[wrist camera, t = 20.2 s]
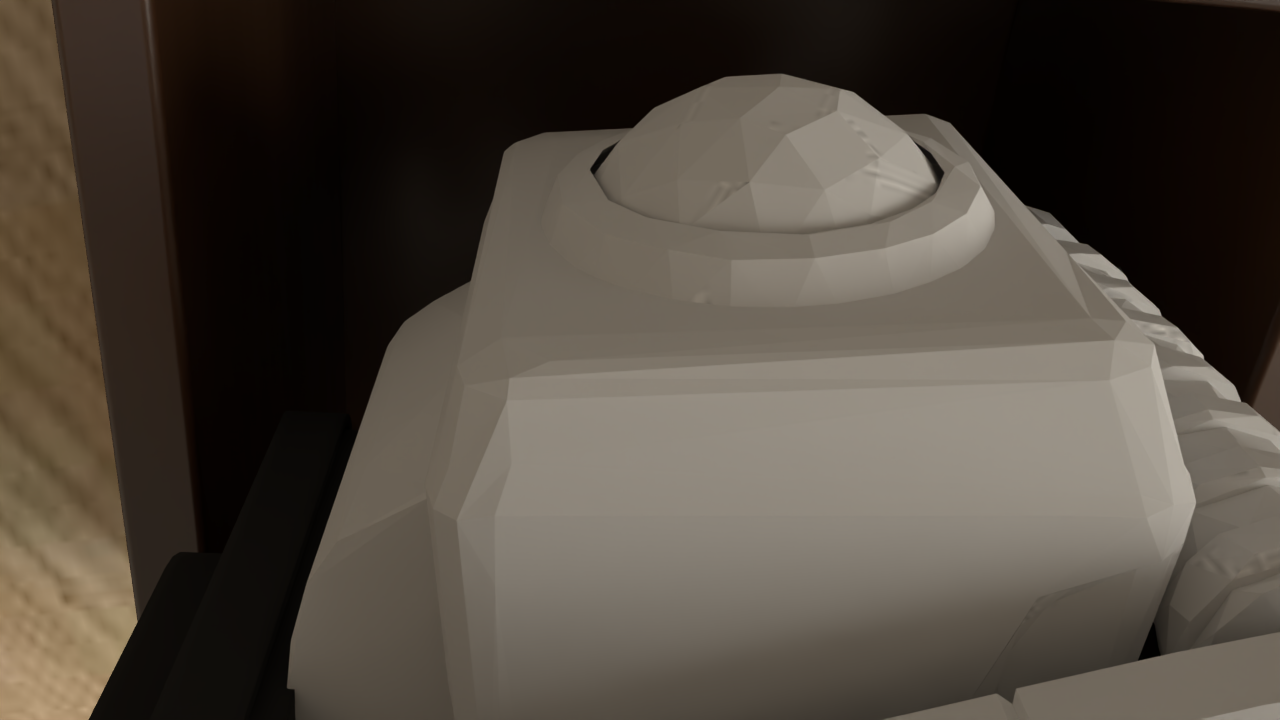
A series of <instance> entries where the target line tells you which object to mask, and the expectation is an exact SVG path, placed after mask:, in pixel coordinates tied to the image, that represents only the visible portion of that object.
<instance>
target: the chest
mask: <svg viewBox="0 0 1280 720" xmlns="http://www.w3.org/2000/svg"><path fill="white" fill-rule="evenodd" d="M52 8H53V15H54V22H55V29H56V36H57V44H58V51H59V58H60V65H61V72H62V80H63V87H64V94H65V101H66V108H67V116H68V123H69V130H70V137H71V145H72V152H73V159H74V166H75V173H76V181H77V188H78V195H79V202H80V209H81V217H82V224H83V231H84V238H85V246H86V253H87V260H88V267H89V274H90V282H91V289H92V296H93V303H94V310H95V318H96V325H97V332H98V339H99V346H100V354H101V361H102V368H103V375H104V383H105V390H106V397H107V404H108V411H109V419H110V426H111V433H112V440H113V447H114V455H115V462H116V469H117V476H118V483H119V491H120V498H121V505H122V512H123V520H124V527H125V534H126V541H127V548H128V556H129V563H130V570H131V577H132V584H133V592H134V599H135V606H136V613H137V620H138V621H139V619H140V617H141V615H142V613H143V611H144V609H145V607H146V605H147V603H148V601H149V599H150V597H151V595H152V593H153V591H154V589H155V587H156V585H157V583H158V581H159V579H160V577H161V575H162V573H163V571H164V569H165V567H166V566H167V564H168V563H169V561H170V560H171V558H172V557H173V556H174V555H176V554H177V553H179V552H197V553H223V550H224V548H225V546H226V544H227V541H228V539H229V537H230V534H231V532H232V530H233V528H234V525H235V523H236V521H237V518H238V516H239V514H240V512H241V509H242V507H243V505H244V502H245V500H246V498H247V495H248V493H249V491H250V489H251V486H252V484H253V482H254V479H255V477H256V475H257V473H258V470H259V468H260V466H261V463H262V461H263V459H264V457H265V454H266V452H267V450H268V447H269V445H270V443H271V441H272V438H273V436H274V434H275V431H276V429H277V427H278V425H279V422H280V420H281V418H282V416H283V414H284V413H285V411H303V412H324V413H345V414H349V415H350V417H351V422H352V430H359V428H360V425H361V422H362V419H363V417H364V414H365V411H366V408H367V405H368V402H369V399H370V396H371V393H372V390H373V387H374V384H375V381H376V378H377V375H378V372H379V370H380V367H381V364H382V361H383V358H384V355H385V352H386V349H387V346H388V345H389V343H390V342H391V340H392V339H393V337H394V336H395V334H396V333H397V331H398V330H399V329H400V327H401V326H402V324H403V323H404V321H406V320H407V319H409V318H410V317H412V316H413V315H415V314H416V313H417V312H419V311H420V310H422V309H423V308H425V307H426V306H427V305H429V304H430V303H432V302H433V301H435V300H437V299H439V298H440V297H442V296H444V295H446V294H448V293H450V292H451V291H453V290H455V289H457V288H459V287H461V286H463V285H464V284H466V283H468V282H470V281H471V278H472V273H473V269H474V265H475V260H476V256H477V251H478V247H479V243H480V238H481V234H482V229H483V225H484V221H485V219H486V216H487V213H488V211H489V208H490V206H491V203H492V201H493V197H494V193H495V188H496V184H497V180H498V175H499V171H500V167H501V162H502V158H503V154H504V151H505V150H507V149H508V148H509V147H510V146H511V145H513V144H514V143H516V142H519V141H521V140H524V139H527V138H530V137H533V136H536V135H539V134H542V133H547V132H567V131H587V130H607V129H628V128H634V127H635V126H636V125H637V124H638V123H639V122H640V121H641V120H642V119H643V118H644V117H645V116H646V115H647V114H648V113H649V112H650V111H651V110H652V109H653V108H655V107H657V106H659V105H662V104H664V103H666V102H668V101H670V100H673V99H675V98H677V97H679V96H682V95H684V94H686V93H688V92H691V91H693V90H695V89H697V88H700V87H702V86H705V85H707V84H709V83H712V82H714V81H717V80H719V79H722V78H724V77H732V76H749V75H766V74H785V75H789V76H793V77H797V78H801V79H805V80H809V81H813V82H816V83H820V84H824V85H828V86H832V87H836V88H840V89H844V90H847V91H851V92H854V93H855V94H857V95H858V96H859V97H861V98H862V99H863V100H864V101H866V102H867V103H868V104H870V105H871V106H872V107H874V108H875V109H876V110H878V111H879V112H880V113H882V114H883V115H884V116H891V115H911V114H927V115H930V116H933V117H935V118H938V119H941V120H943V121H946V122H949V123H951V125H952V126H953V127H954V128H955V129H956V130H957V131H958V132H959V133H960V135H961V136H962V137H963V138H964V139H965V140H966V141H967V142H968V143H969V144H970V146H971V147H972V148H973V149H974V150H975V151H976V152H977V153H978V154H979V156H980V157H981V158H982V159H983V160H984V161H985V162H986V163H987V164H988V166H989V167H990V168H991V169H992V170H993V171H994V172H995V173H996V174H997V175H998V177H999V178H1000V179H1001V180H1002V181H1003V182H1004V183H1005V184H1006V185H1007V187H1008V188H1009V189H1010V190H1011V191H1012V192H1013V193H1014V194H1015V195H1016V196H1017V198H1018V199H1019V200H1020V201H1021V202H1022V203H1023V204H1024V205H1025V206H1029V207H1032V208H1035V209H1039V210H1042V211H1045V212H1049V213H1050V214H1051V215H1052V216H1053V217H1054V218H1055V219H1056V220H1057V221H1058V222H1059V223H1060V224H1061V225H1062V226H1063V227H1064V228H1065V229H1066V230H1067V231H1068V232H1069V233H1070V234H1071V235H1072V236H1073V237H1074V238H1075V239H1076V240H1077V241H1078V242H1079V243H1082V244H1088V245H1089V246H1090V247H1092V248H1093V249H1094V250H1096V251H1097V252H1098V253H1100V254H1101V255H1102V256H1103V257H1105V258H1106V259H1107V260H1108V261H1109V262H1110V263H1112V264H1113V265H1114V266H1115V267H1118V266H1120V267H1121V269H1122V271H1123V273H1124V274H1125V275H1126V277H1127V279H1128V281H1129V283H1130V284H1131V285H1132V286H1134V287H1135V288H1136V289H1137V290H1138V291H1139V292H1140V293H1142V294H1143V295H1144V296H1145V297H1146V298H1147V299H1149V300H1150V301H1151V302H1152V303H1153V304H1154V305H1155V306H1156V307H1157V308H1158V309H1159V310H1160V313H1161V316H1162V317H1163V318H1165V319H1166V320H1168V321H1169V322H1170V323H1172V324H1173V325H1175V326H1176V327H1178V328H1179V330H1180V331H1181V332H1182V333H1183V334H1184V335H1185V336H1186V337H1187V338H1188V339H1189V340H1190V342H1191V343H1192V344H1193V345H1194V346H1195V347H1196V348H1197V349H1198V350H1199V351H1200V352H1201V353H1202V355H1203V356H1204V360H1205V361H1206V362H1207V363H1208V364H1210V365H1211V366H1212V367H1213V368H1214V369H1216V370H1217V371H1218V372H1219V373H1220V374H1221V375H1223V376H1224V377H1225V378H1226V379H1227V380H1229V381H1230V382H1231V383H1232V384H1233V385H1234V386H1235V388H1236V390H1237V393H1238V395H1239V398H1240V400H1241V401H1242V402H1243V403H1247V404H1248V405H1249V406H1250V407H1251V408H1253V409H1254V410H1255V411H1256V412H1257V413H1258V414H1260V415H1261V416H1262V417H1263V418H1264V419H1265V420H1267V421H1268V422H1269V423H1270V424H1271V425H1272V426H1274V427H1275V428H1276V429H1277V430H1278V431H1279V432H1280V0H52Z"/></svg>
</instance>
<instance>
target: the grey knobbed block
mask: <svg viewBox="0 0 1280 720" xmlns="http://www.w3.org/2000/svg"><path fill="white" fill-rule="evenodd" d="M1138 659H1140V661H1138ZM287 688H288V689H295V719H296V720H1280V432H1279V431H1278V430H1277V429H1276V428H1275V427H1274V426H1272V425H1271V424H1270V423H1269V422H1268V421H1267V420H1265V419H1264V418H1263V417H1262V416H1261V415H1260V414H1258V413H1257V412H1256V411H1255V410H1254V409H1253V408H1251V407H1250V406H1249V405H1248V404H1247V403H1243V402H1242V401H1241V400H1240V398H1239V395H1238V393H1237V390H1236V388H1235V386H1234V385H1233V384H1232V383H1231V382H1230V381H1229V380H1227V379H1226V378H1225V377H1224V376H1223V375H1221V374H1220V373H1219V372H1218V371H1217V370H1216V369H1214V368H1213V367H1212V366H1211V365H1210V364H1208V363H1207V362H1206V361H1205V360H1204V356H1203V355H1202V353H1201V352H1200V351H1199V350H1198V349H1197V348H1196V347H1195V346H1194V345H1193V344H1192V343H1191V342H1190V340H1189V339H1188V338H1187V337H1186V336H1185V335H1184V334H1183V333H1182V332H1181V331H1180V330H1179V328H1178V327H1176V326H1175V325H1173V324H1172V323H1170V322H1169V321H1168V320H1166V319H1165V318H1163V317H1162V316H1161V313H1160V310H1159V309H1158V308H1157V307H1156V306H1155V305H1154V304H1153V303H1152V302H1151V301H1150V300H1149V299H1147V298H1146V297H1145V296H1144V295H1143V294H1142V293H1140V292H1139V291H1138V290H1137V289H1136V288H1135V287H1134V286H1132V285H1131V284H1130V283H1129V281H1128V279H1127V277H1126V275H1125V274H1124V273H1123V271H1122V269H1121V267H1120V266H1118V267H1115V266H1114V265H1113V264H1112V263H1110V262H1109V261H1108V260H1107V259H1106V258H1105V257H1103V256H1102V255H1101V254H1100V253H1098V252H1097V251H1096V250H1094V249H1093V248H1092V247H1090V246H1089V245H1088V244H1082V243H1079V242H1078V241H1077V240H1076V239H1075V238H1074V237H1073V236H1072V235H1071V234H1070V233H1069V232H1068V231H1067V230H1066V229H1065V228H1064V227H1063V226H1062V225H1061V224H1060V223H1059V222H1058V221H1057V220H1056V219H1055V218H1054V217H1053V216H1052V215H1051V214H1050V213H1049V212H1045V211H1042V210H1039V209H1035V208H1032V207H1029V206H1025V205H1024V204H1023V203H1022V202H1021V201H1020V200H1019V199H1018V198H1017V196H1016V195H1015V194H1014V193H1013V192H1012V191H1011V190H1010V189H1009V188H1008V187H1007V185H1006V184H1005V183H1004V182H1003V181H1002V180H1001V179H1000V178H999V177H998V175H997V174H996V173H995V172H994V171H993V170H992V169H991V168H990V167H989V166H988V164H987V163H986V162H985V161H984V160H983V159H982V158H981V157H980V156H979V154H978V153H977V152H976V151H975V150H974V149H973V148H972V147H971V146H970V144H969V143H968V142H967V141H966V140H965V139H964V138H963V137H962V136H961V135H960V133H959V132H958V131H957V130H956V129H955V128H954V127H953V126H952V125H951V123H949V122H946V121H943V120H941V119H938V118H935V117H933V116H930V115H927V114H911V115H891V116H884V115H883V114H882V113H880V112H879V111H878V110H876V109H875V108H874V107H872V106H871V105H870V104H868V103H867V102H866V101H864V100H863V99H862V98H861V97H859V96H858V95H857V94H855V93H854V92H851V91H847V90H844V89H840V88H836V87H832V86H828V85H824V84H820V83H816V82H813V81H809V80H805V79H801V78H797V77H793V76H789V75H785V74H766V75H749V76H732V77H724V78H722V79H719V80H717V81H714V82H712V83H709V84H707V85H705V86H702V87H700V88H697V89H695V90H693V91H691V92H688V93H686V94H684V95H682V96H679V97H677V98H675V99H673V100H670V101H668V102H666V103H664V104H662V105H659V106H657V107H655V108H653V109H652V110H651V111H650V112H649V113H648V114H647V115H646V116H645V117H644V118H643V119H642V120H641V121H640V122H639V123H638V124H637V125H636V126H635V127H634V128H628V129H607V130H587V131H567V132H547V133H542V134H539V135H536V136H533V137H530V138H527V139H524V140H521V141H519V142H516V143H514V144H513V145H511V146H510V147H509V148H508V149H507V150H505V151H504V154H503V158H502V162H501V167H500V171H499V175H498V180H497V184H496V188H495V193H494V197H493V201H492V203H491V206H490V208H489V211H488V213H487V216H486V219H485V221H484V225H483V229H482V234H481V238H480V243H479V247H478V251H477V256H476V260H475V265H474V269H473V273H472V278H471V281H470V282H468V283H466V284H464V285H463V286H461V287H459V288H457V289H455V290H453V291H451V292H450V293H448V294H446V295H444V296H442V297H440V298H439V299H437V300H435V301H433V302H432V303H430V304H429V305H427V306H426V307H425V308H423V309H422V310H420V311H419V312H417V313H416V314H415V315H413V316H412V317H410V318H409V319H407V320H406V321H404V323H403V324H402V326H401V327H400V329H399V330H398V331H397V333H396V334H395V336H394V337H393V339H392V340H391V342H390V343H389V345H388V346H387V349H386V352H385V355H384V358H383V361H382V364H381V367H380V370H379V372H378V375H377V378H376V381H375V384H374V387H373V390H372V393H371V396H370V399H369V402H368V405H367V408H366V411H365V414H364V417H363V419H362V422H361V425H360V428H359V431H358V434H357V437H356V440H355V443H354V446H353V449H352V452H351V455H350V458H349V461H348V463H347V466H346V469H345V472H344V475H343V478H342V481H341V484H340V487H339V490H338V493H337V496H336V499H335V502H334V505H333V507H332V510H331V513H330V516H329V519H328V522H327V525H326V528H325V531H324V534H323V537H322V540H321V543H320V546H319V549H318V551H317V554H316V557H315V560H314V563H313V566H312V569H311V572H310V575H309V578H308V581H307V584H306V587H305V591H304V594H303V598H302V602H301V605H300V609H299V613H298V616H297V620H296V624H295V627H294V631H293V635H292V638H291V646H290V658H289V669H288V681H287Z"/></svg>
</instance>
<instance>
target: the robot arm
mask: <svg viewBox="0 0 1280 720" xmlns="http://www.w3.org/2000/svg"><path fill="white" fill-rule="evenodd" d="M358 431H359V430H352V422H351V417H350V415H349V414H345V413H324V412H303V411H285V413H284V414H283V416H282V418H281V420H280V422H279V425H278V427H277V429H276V431H275V434H274V436H273V438H272V441H271V443H270V445H269V447H268V450H267V452H266V454H265V457H264V459H263V461H262V463H261V466H260V468H259V470H258V473H257V475H256V477H255V479H254V482H253V484H252V486H251V489H250V491H249V493H248V495H247V498H246V500H245V502H244V505H243V507H242V509H241V512H240V514H239V516H238V518H237V521H236V523H235V525H234V528H233V530H232V532H231V534H230V537H229V539H228V541H227V544H226V546H225V548H224V550H223V553H197V552H179V553H177V554H176V555H174V556H173V557H172V558H171V560H170V561H169V563H168V564H167V566H166V567H165V569H164V571H163V573H162V575H161V577H160V579H159V581H158V583H157V585H156V587H155V589H154V591H153V593H152V595H151V597H150V599H149V601H148V603H147V605H146V607H145V609H144V611H143V613H142V615H141V617H140V619H139V621H138V623H137V625H136V627H135V629H134V631H133V633H132V635H131V637H130V639H129V641H128V643H127V645H126V647H125V649H124V651H123V653H122V654H121V656H120V658H119V660H118V662H117V664H116V666H115V668H114V670H113V672H112V674H111V676H110V678H109V680H108V682H107V684H106V686H105V688H104V690H103V692H102V694H101V696H100V698H99V700H98V702H97V704H96V706H95V708H94V710H93V712H92V714H91V716H90V718H89V720H296V719H295V689H288V688H287V681H288V669H289V658H290V646H291V638H292V635H293V631H294V627H295V624H296V620H297V616H298V613H299V609H300V605H301V602H302V598H303V594H304V591H305V587H306V584H307V581H308V578H309V575H310V572H311V569H312V566H313V563H314V560H315V557H316V554H317V551H318V549H319V546H320V543H321V540H322V537H323V534H324V531H325V528H326V525H327V522H328V519H329V516H330V513H331V510H332V507H333V505H334V502H335V499H336V496H337V493H338V490H339V487H340V484H341V481H342V478H343V475H344V472H345V469H346V466H347V463H348V461H349V458H350V455H351V452H352V449H353V446H354V443H355V440H356V437H357V434H358ZM1138 661H1140V659H1138Z"/></svg>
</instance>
